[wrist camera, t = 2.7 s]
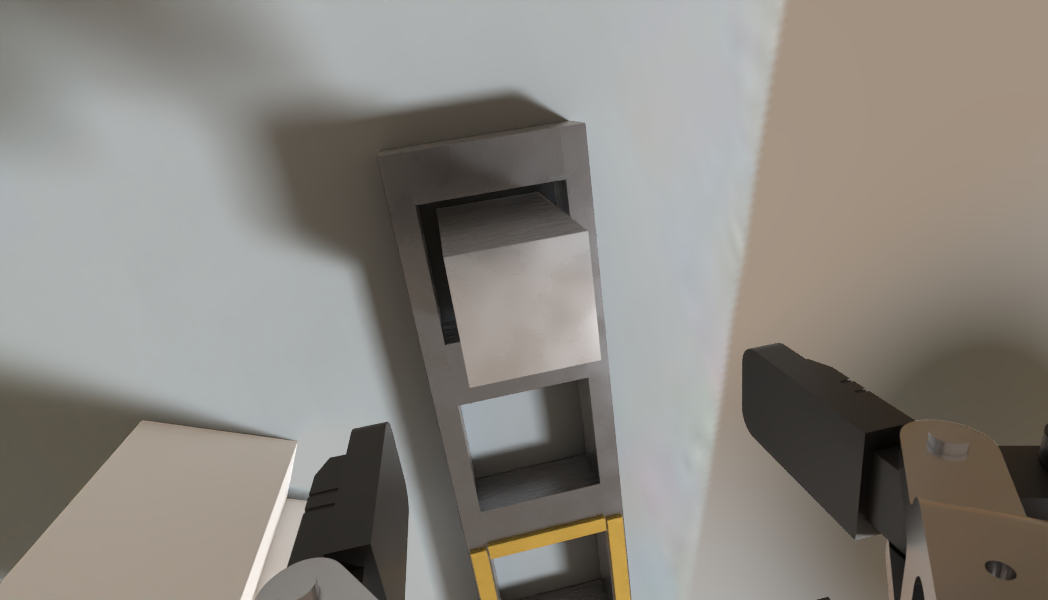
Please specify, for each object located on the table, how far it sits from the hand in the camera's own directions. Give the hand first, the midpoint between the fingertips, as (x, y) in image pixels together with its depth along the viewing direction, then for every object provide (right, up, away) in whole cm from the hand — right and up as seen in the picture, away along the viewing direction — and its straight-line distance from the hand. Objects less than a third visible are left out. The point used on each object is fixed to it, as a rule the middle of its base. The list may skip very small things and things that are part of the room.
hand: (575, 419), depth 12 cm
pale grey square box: (-2, +5, +13) cm, 14 cm away
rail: (-1, -3, +16) cm, 16 cm away
